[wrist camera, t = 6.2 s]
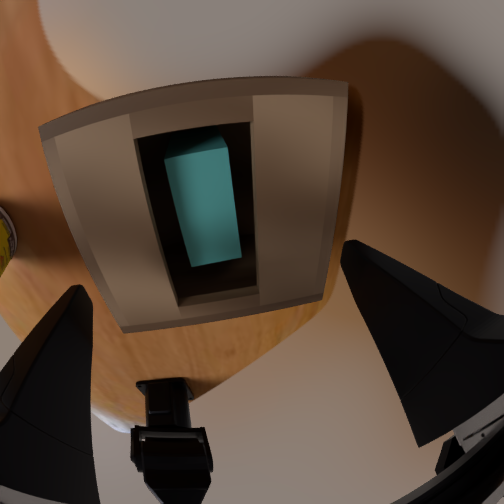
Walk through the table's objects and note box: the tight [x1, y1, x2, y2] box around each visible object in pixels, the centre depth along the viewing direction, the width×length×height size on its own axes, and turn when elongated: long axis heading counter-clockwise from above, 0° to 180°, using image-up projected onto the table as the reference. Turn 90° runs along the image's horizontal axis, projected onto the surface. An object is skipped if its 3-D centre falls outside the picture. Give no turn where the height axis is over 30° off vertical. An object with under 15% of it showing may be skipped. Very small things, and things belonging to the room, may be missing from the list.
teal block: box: [164, 125, 242, 267], centre depth 13 cm, size 6×2×5 cm, turn 4°
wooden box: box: [38, 76, 348, 333], centre depth 13 cm, size 11×11×7 cm
